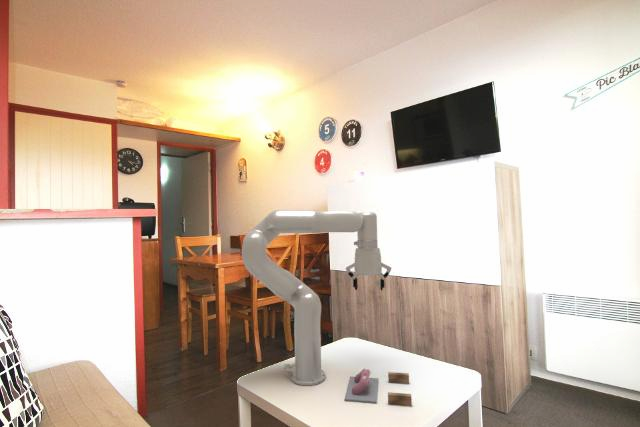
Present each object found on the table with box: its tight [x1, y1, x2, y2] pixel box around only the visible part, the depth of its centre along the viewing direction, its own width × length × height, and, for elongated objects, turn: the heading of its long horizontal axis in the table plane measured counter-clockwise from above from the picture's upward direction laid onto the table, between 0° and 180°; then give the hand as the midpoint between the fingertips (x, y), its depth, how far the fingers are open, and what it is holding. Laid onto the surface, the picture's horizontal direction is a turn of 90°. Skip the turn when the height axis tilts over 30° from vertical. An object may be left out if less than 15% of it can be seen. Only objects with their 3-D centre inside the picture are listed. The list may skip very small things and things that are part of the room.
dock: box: [387, 371, 413, 408], centre depth 112 cm, size 7×16×3 cm, turn 168°
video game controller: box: [352, 368, 371, 394], centre depth 114 cm, size 10×5×7 cm, turn 169°
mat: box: [343, 376, 379, 405], centre depth 114 cm, size 10×16×1 cm, turn 168°
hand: (368, 289), depth 131 cm, fingers open, 9 cm apart
